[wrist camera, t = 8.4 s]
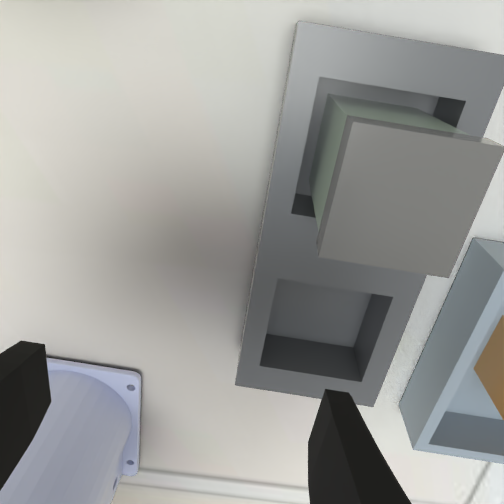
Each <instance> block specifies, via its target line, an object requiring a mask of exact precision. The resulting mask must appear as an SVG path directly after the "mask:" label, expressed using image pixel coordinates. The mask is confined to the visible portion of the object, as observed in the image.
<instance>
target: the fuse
mask: <svg viewBox="0 0 504 504" xmlns="http://www.w3.org/2000/svg"><path fill="white" fill-rule="evenodd" d="M503 153H504V146H503V145H501V144H499V143H496V142H494V141H492V140H490V139H488V138H483V137H477V136H471V135H469V134H467V133H465V132H463V131H461V130H459V129H457V128H455V127H453V126H451V125H449V124H447V123H445V122H443V121H441V120H439V119H437V118H435V117H433V116H431V115H429V114H427V113H426V112H424V111H422V110H420V109H418V108H413V107H407V106H401V105H395V104H389V103H383V102H377V101H371V100H365V99H359V98H353V97H346V96H340V95H334V94H328V95H327V99H326V104H325V108H324V113H323V117H322V122H321V126H320V131H319V136H318V140H317V145H316V149H315V154H314V158H313V163H312V167H311V172H310V176H309V184H310V190H311V195H312V200H313V205H314V211H315V216H316V221H317V227H318V236H317V240H316V245H317V251H318V257H321V258H327V259H334V260H340V261H346V262H352V263H358V264H365V265H371V266H377V267H383V268H389V269H396V270H402V271H408V272H414V273H420V274H427V275H433V276H439V277H445V278H449V276H450V274H451V272H452V269H453V267H454V265H455V262H456V260H457V258H458V256H459V253H460V251H461V249H462V246H463V244H464V242H465V240H466V237H467V235H468V233H469V230H470V228H471V226H472V223H473V221H474V219H475V217H476V214H477V212H478V210H479V207H480V205H481V203H482V201H483V198H484V196H485V194H486V191H487V189H488V187H489V185H490V182H491V180H492V178H493V175H494V173H495V171H496V169H497V166H498V164H499V162H500V159H501V157H502V155H503Z"/></svg>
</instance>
